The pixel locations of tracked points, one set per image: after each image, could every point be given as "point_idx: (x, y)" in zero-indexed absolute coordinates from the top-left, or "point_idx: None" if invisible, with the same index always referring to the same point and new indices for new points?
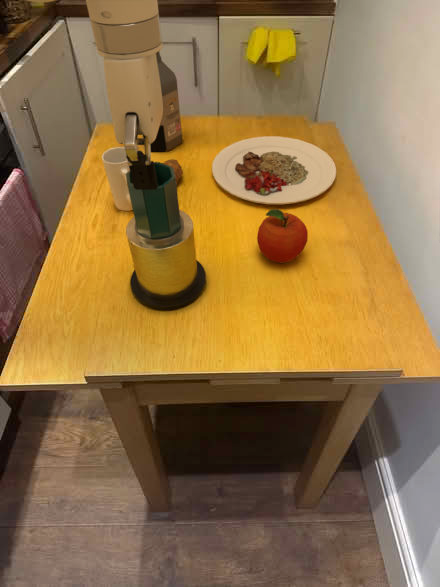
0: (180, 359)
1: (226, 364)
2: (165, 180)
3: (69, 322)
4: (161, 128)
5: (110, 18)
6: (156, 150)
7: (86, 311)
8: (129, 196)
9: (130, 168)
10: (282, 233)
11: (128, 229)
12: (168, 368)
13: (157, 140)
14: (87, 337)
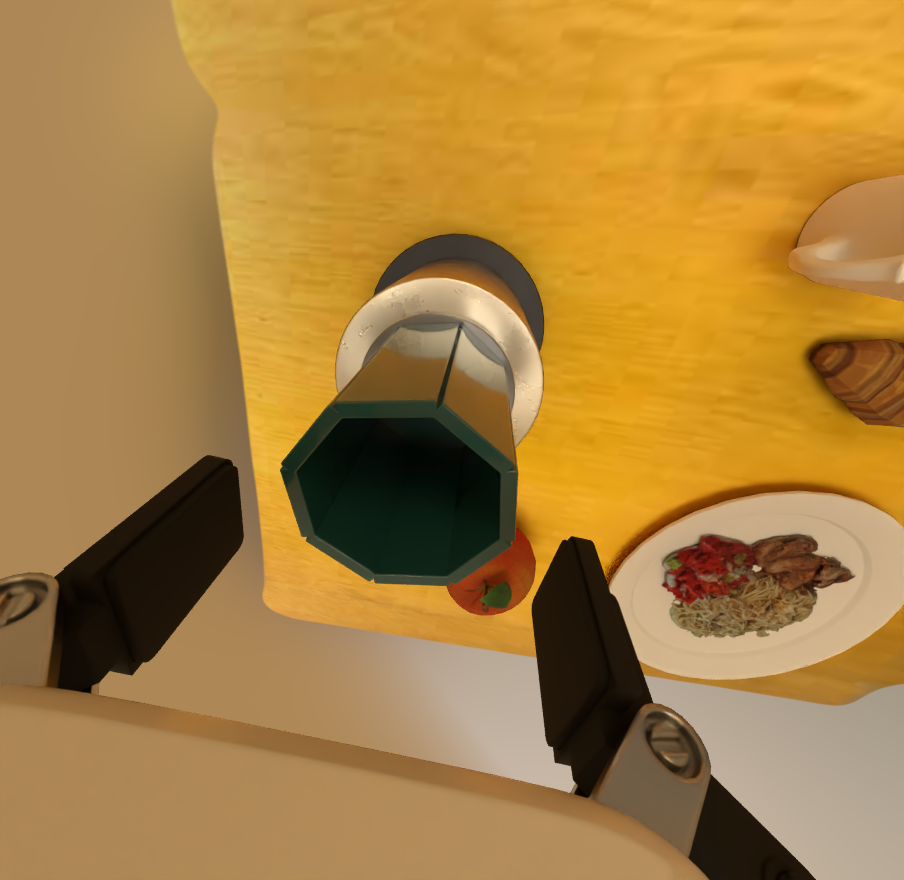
0: (257, 330)
1: (254, 404)
2: (472, 509)
3: (354, 30)
4: (553, 746)
5: None
6: (546, 584)
7: (389, 90)
8: (809, 257)
9: (101, 542)
10: (457, 583)
11: (442, 287)
12: (236, 305)
13: (550, 646)
14: (303, 102)
